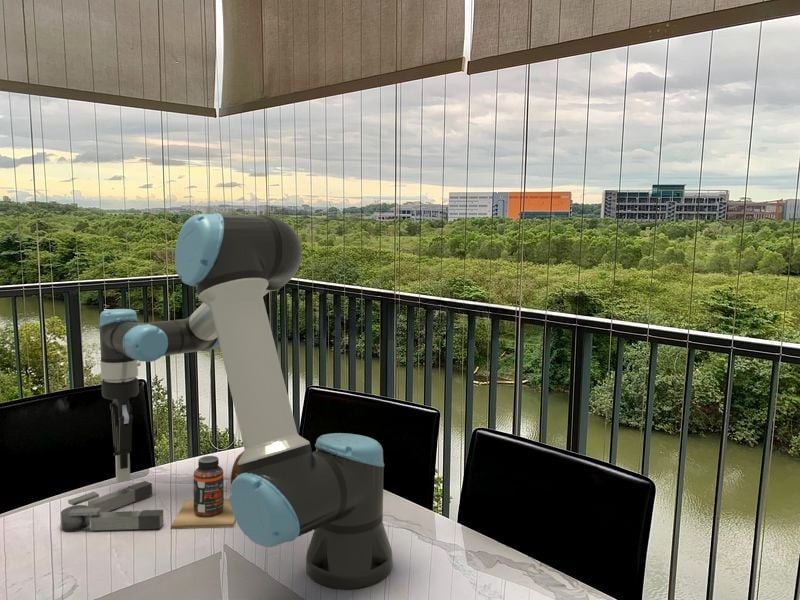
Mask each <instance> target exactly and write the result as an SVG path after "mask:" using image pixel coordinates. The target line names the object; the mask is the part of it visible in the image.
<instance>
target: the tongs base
mask: <svg viewBox="0 0 800 600" xmlns="http://www.w3.org/2000/svg"><path fill="white" fill-rule="evenodd" d="M100 511H101V508H89V507H88V505H86V504H77V505H74V506H73V505H71V506H68V507H66V508H64V509H62V510H61V511H60V524H61V525H60V526H61V531H63V532H65V533H73V532H74V533H76V532H78V531H82V530H85V529H86V528H88V527H89V526H90V531H115V530H116V531H119V530H120V531H121V530H124V531H125V530H155V529H156V530H157V529H158V530H159V529H160V528H162V526H163V524H164V521H165V520H164V509H142V510H128V511H125V510H124V511H108V512H100ZM92 515H93V516H92Z"/></svg>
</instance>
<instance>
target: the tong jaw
mask: <svg viewBox="0 0 800 600" xmlns="http://www.w3.org/2000/svg"><path fill="white" fill-rule="evenodd" d="M151 496H153V483H152V482H149V481H147V480H143V481H140V482H137V483H134V484H132V485H129V486H128V487H125V488H122V489H119V490H115V491H114V492H110V493H108V494H105V495H102V496H100V494H99V493H97V492H95V491H92V492H88V493H86V494H83V495H80V496H76V497H74V498H72V499H71V498H70V499H68V500H67V503H68V504H69V505H71V506H75V505H81V504H82V503H85V502H87V506H88V507H89V508H101V511H100V512H112V511H113V510H117V509H118V508H121V507H124V506H126V505H129V504H131V503H135V502H138V501H141V500H143V499H146V498H148V497H151ZM92 516H93V515H91V517H92Z"/></svg>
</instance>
